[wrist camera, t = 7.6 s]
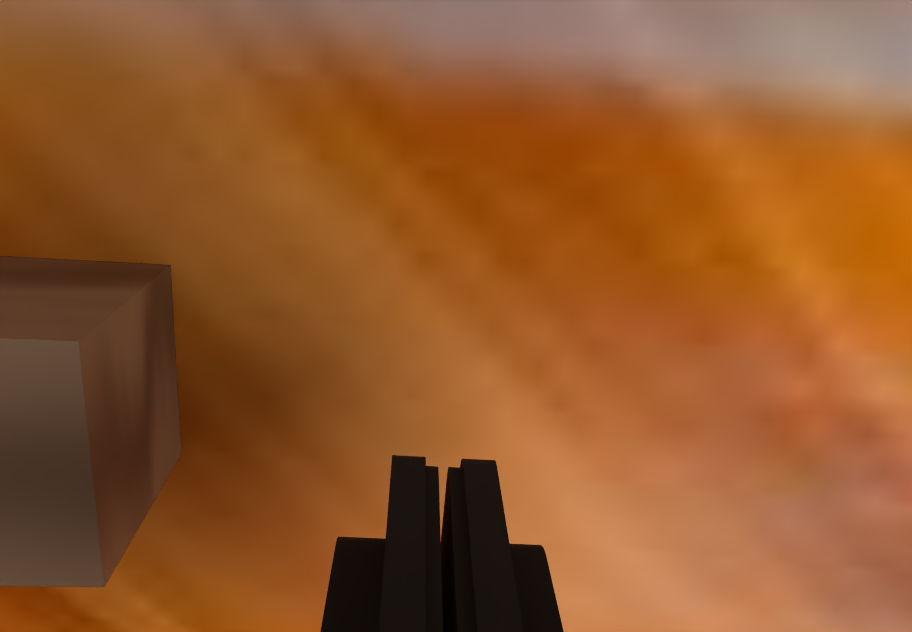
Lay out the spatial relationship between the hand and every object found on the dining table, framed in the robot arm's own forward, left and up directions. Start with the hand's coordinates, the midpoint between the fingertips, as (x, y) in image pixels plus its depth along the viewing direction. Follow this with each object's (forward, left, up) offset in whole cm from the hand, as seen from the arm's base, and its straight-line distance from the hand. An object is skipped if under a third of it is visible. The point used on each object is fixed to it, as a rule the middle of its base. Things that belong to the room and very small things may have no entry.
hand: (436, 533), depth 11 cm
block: (+2, -10, -10) cm, 14 cm away
